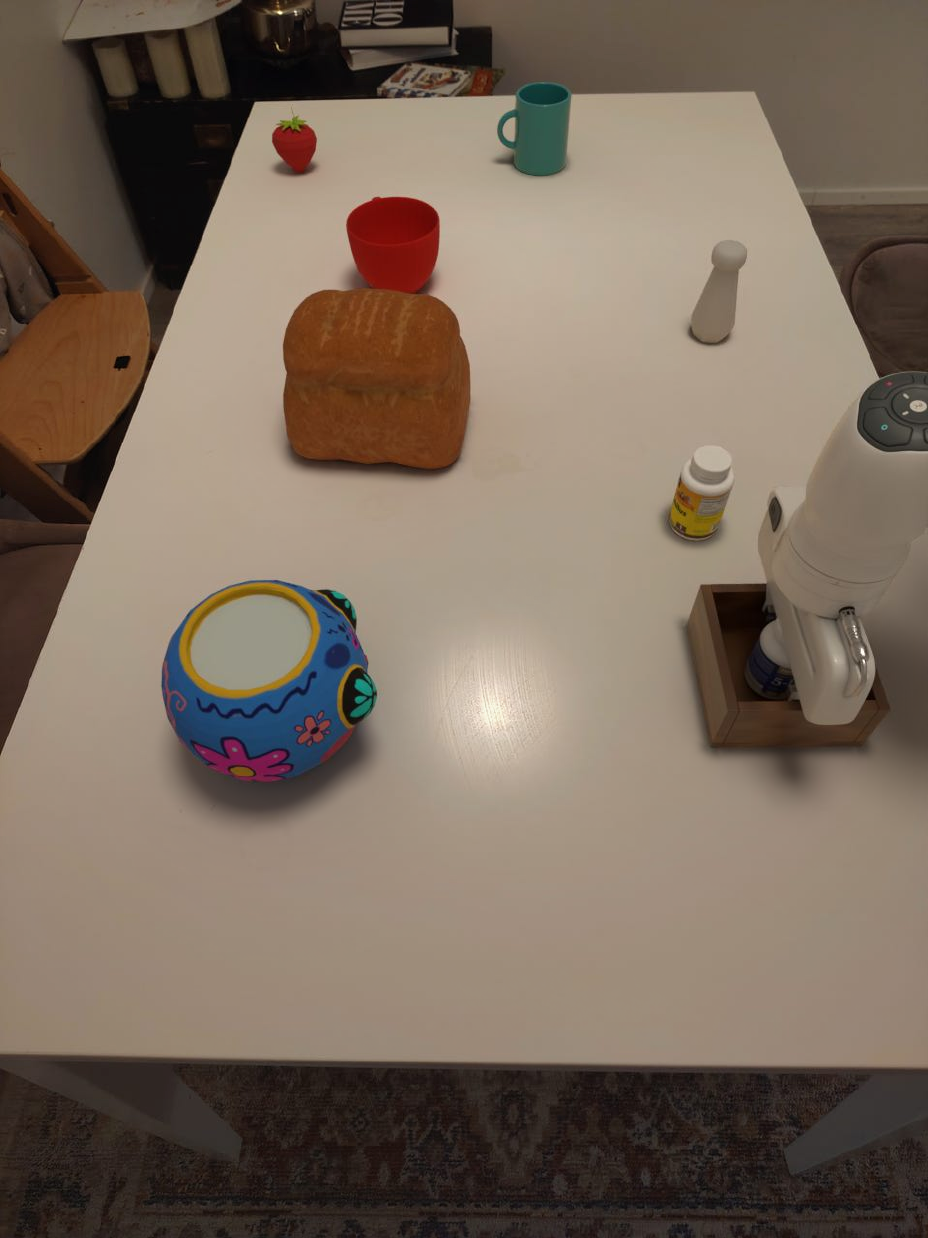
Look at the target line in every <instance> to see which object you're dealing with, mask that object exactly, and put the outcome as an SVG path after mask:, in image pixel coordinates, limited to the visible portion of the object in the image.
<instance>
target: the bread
mask: <svg viewBox="0 0 928 1238" xmlns="http://www.w3.org/2000/svg"><path fill="white" fill-rule="evenodd" d="M460 328H461V327H460V323H459V320H458V318H457V315H456V314H455V312H454V311H453V310H452V308H451V307H450V306H448V304H446V303H445V302H444V301H443V300H441V299H439V298H438V297H436V296H433V295H430V294H423V293H422V294H418V293H415V294H409V293H404V292H399V291H394V290H387V289H374V288H368V287H367V288H366V287H365V288H355V289H348V290H341V289H323V290H318V291H316V292H314V293H311V294H310V295H308V296H307V297H305V298H304V299H303V300H302V301H301V302H300V303H299V305H298V306H296V308H295V309H294V311H293V312H292V315H291V316H290V319H289V321H288V323H287V326H286V328H285V331H284V335H283V336H284V337H283V341H282V357H283V365H284V369H285V371H286V375H285V381H284V386H283V394H282V402H283V403H282V404H283V405H282V406H283V413H284V421H285V429H286V436H287V438H288V441H289V442H290V444H291V447H292V448H293V451H294V452H295V453H296V454H298V455H299V456H301V457H303V458H305V459H307V460H317V461H334V460H335V461H336V460H343V461H349V462H353V463H354V462H355V463H358V464H359V463H360V464H366V465H372V464H381V463H389V462H390V463H394V464H399V465H402V466H403V465H404V466H407V467H412V468H417V469H424V470H434V469H436V470H437V469H441V468H445V467H448V466H450V465H452V464H453V463H455V462H456V460H457V459H458V458H459V456H460V454H461V450H462V448H463V444H464V439H465V438H464V437H465V433H466V428H467V423H468V415H469V409H470V404H471V387H472V386H471V367H470V366H471V365H470V360H469V356H468V352H467V348H466V345H465V342H464V340H463V338H462V336H461V329H460Z"/></svg>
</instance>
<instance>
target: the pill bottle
mask: <svg viewBox="0 0 928 1238" xmlns="http://www.w3.org/2000/svg"><path fill="white" fill-rule="evenodd" d="M744 675H745V679H746V681H747V683H748V685H749V686H750V687H751V689H752V690H753V691H755V692H756V693H757V694H759V695H761V696H763V697H765V698H768V699H773V700H780V699H786V696H785V691H787V688H788V686H789V685H796V684H795V681H794V677H793V674H792V670H791V667H790V663H789V659H788V656H787V652H786V649H785V645H784V641H783V638H782V630H781V627H780V623H779V619H778V618H777V619H776V620H775V621H773V622H771V623H769V624H768V625H767V626H766V627H765V628H764V629H763V631H762V632H761V634H760V636H759V638H758V640H757V642H756V644H755V646H754V649H753V650H752V652H751V655H750V657H749V659H748V661H747V663H746V665H745V669H744Z"/></svg>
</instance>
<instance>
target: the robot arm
mask: <svg viewBox="0 0 928 1238" xmlns="http://www.w3.org/2000/svg"><path fill="white" fill-rule="evenodd" d="M766 502H767V503H766V504H767V509H766V511H765V514H764V516H763V519H762V522H761V524H760V525H761V526H760V528H759V532H758V536H757V552H758V555H759V560H760V562H761V566H762V569H763V573H764V576H765V580H766V583H767V587H766V601H765V603H764V606H763V608H762V611H763V615H764V618H765V621H766V623H771V622H773V621H775V620H776V619H777V618H778V619H779V623H780V627H781V630H782V638H783V641H784V645H785V649H786V652H787V656H788V659H789V663H790V667H791V670H792V674H793V677H794V681H795V684H796V685H789V686H788V688H787V691H785V696H786V700H787V701H800V702H801V706H802V710H803V714H804V716H805V718H806V720H807V721H809V722H811V723H814V724H819V725H840V724H847V723H850V722H852V721H853V720H854V719H855V717H856V715H857V714H858V712H859V711H860V709H861V707H862V705H863V703H864V702H865V700H866V698H867V696H868V693H869V691H870V689H871V687H872V684H873V681H874V677H875V666H876V661H875V657H874V653H873V650H872V647H871V645H870V642H869V640H868V639H869V638H868V636H867V634H866V633H867V632H866V630H865V628H864V624H863V622H862V619H861V616H864V615H866V614H868V613H869V612H871V611H873V610H874V609H875V608H876V607H877V606H878V605H879V604H880V602H881V600H882V599H883V597H884V596H885V595H886V593H887V591H888V590H889V589H890V587H891V585H892V584H893V582H894V581H895V579H896V578H897V576H898V575H899V573H900V571H901V569H902V568H903V566H904V565H905V563H906V562H907V559H908V558H909V554H910V550H911V544H912V542H913V541H914V540H916V539H917V538H919V537H920V536H921V535H922V534H923V533H924V532H925V531H926V530H927V529H928V372H925V371H901V372H896V373H891V374H888V375H886V376H883V377H880V378H879V379H877V380H874V381H873V382H870V383H869V384H868V385H867V386H866V387H865V388H864V389H862V391H861V392H860V393H859V394H858V395H857V396H856V398H854V399H853V401H852V402H851V403H850V405H848V407H847V409H846V410H845V411H844V413H842V416H841V417H840V419H839V420H838V421H837V423H836V425H835V426H834V428H833V429H832V430H831V433H830V434H829V436H828V438H827V440H826V442H825V443H824V445H823V447H822V449H821V451H820V453H819V455H818V456H817V459H816V460H815V463H814V465H813V467H812V470H811V472H810V473H809V476H808V479H807V482H806V484H805V485H788V486H787V485H786V486H778V487H777V486H776V487H773V488H772V489H771V491H770V492H769V494H768V498H767V501H766Z"/></svg>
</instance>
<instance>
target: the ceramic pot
mask: <svg viewBox="0 0 928 1238" xmlns="http://www.w3.org/2000/svg"><path fill="white" fill-rule="evenodd" d="M357 619H358V618H357V613H356V609H355V607H354V605H353V603H352V602H351V601H350V600H349V598H347V597H346V596H345V595H344V594H343V593H341V592H339V591H336V590H333V589H327V588H325V589H311V588H310V589H309V588H307V587H305V586H302V585H299V584H296V583H291V582H286V581H282V580H278V579H258V580H257V579H256V580H254V579H253V580H251V579H250V580H246V581H243V582H238V583H235V584H230V585H227V586H226V587H223V588H221V589H219V590H217V591H214V592H213V593H211V594H210V595H208V596H207V597H205V598H203V600H202V601H200V602H199V603H198V604H196V605H195V606H194V607H193V608H191V609H190V610H189V611H188V613H187V614H186V615H185V617H184V619H183V620H182V621H181V623H180V624H179V626H178V627H177V628H176V629H175V631H174V633H173V634H172V635H171V637H170V639H169V642H168V645H167V647H166V648H167V649H166V651H165V654H164V657H163V661H162V664H161V665H162V667H161V685H160V686H161V694H162V695H161V696H162V699H163V704H164V709H165V713H166V717H167V719H168V722H169V724H170V726H171V727H172V729H173V731H174V733H175V735H176V736H177V738H178V739H177V740H179V742H180V744H181V745H182V746H184V747H185V748H186V749H187V750H188V751H190V753H192V754H193V756H196V757H197V758H198V759H199V760H200V761H202V762H203V763H204V764H205V765H206V766H207V767H208V768H210V769H211V770H213V771H216V772H219V773H221V774H224V775H227V776H230V777H233V778H236V779H238V780H241V781H246V782H247V781H248V782H261V783H262V782H263V783H269V782H275V781H281V780H286V779H292V778H297V777H298V776H300V775H302V774H303V773H305V772H307V771H309V770H312V769H313V768H315V767H318V766H319V765H321V764H323V763H326V762H327V761H328V760H329V759H330V758H331V757H332V756H333V755H335V753H336V752H337V751H339V749H341V747H342V746H343V745H345V744H346V742H347V741H348V739H349V738H350V737H351V735H352V733H353V732H354V730H355V729H356V727H357V725H358V723H361V722H362V721H363V720H365V719H366V718H367V717H368V716H369V715H371V713H372V711H373V710H374V708H375V706H376V702H377V699H378V690H377V687H376V684H375V683H376V682H374V680H373V679H372V677H371V676H370V675H369V674H368V668H369V659H368V656H367V655H366V653H365V652H364V649H363V647H362V645H361V642H360V639H359V637H358V635H357V621H358V620H357Z"/></svg>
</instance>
